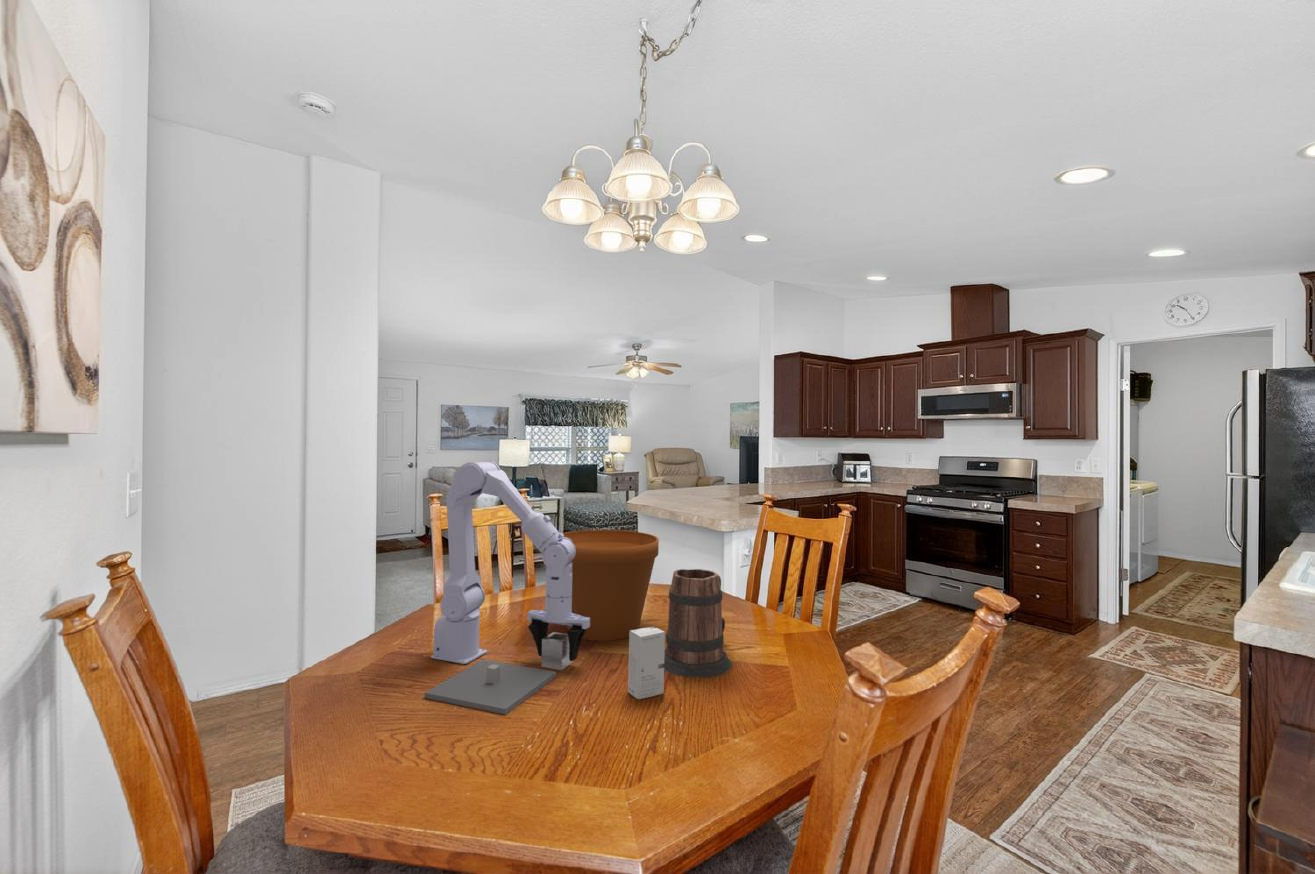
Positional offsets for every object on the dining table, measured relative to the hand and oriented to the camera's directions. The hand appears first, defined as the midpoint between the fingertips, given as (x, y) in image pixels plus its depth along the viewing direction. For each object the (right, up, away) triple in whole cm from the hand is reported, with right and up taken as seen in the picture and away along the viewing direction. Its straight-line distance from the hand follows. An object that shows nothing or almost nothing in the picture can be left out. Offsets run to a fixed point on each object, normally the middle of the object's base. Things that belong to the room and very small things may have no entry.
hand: (557, 656), depth 129 cm
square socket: (0, -2, 0) cm, 2 cm away
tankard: (+32, -3, +6) cm, 32 cm away
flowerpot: (+8, -2, +25) cm, 26 cm away
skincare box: (+20, -2, -13) cm, 24 cm away
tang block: (-11, -1, -12) cm, 16 cm away
